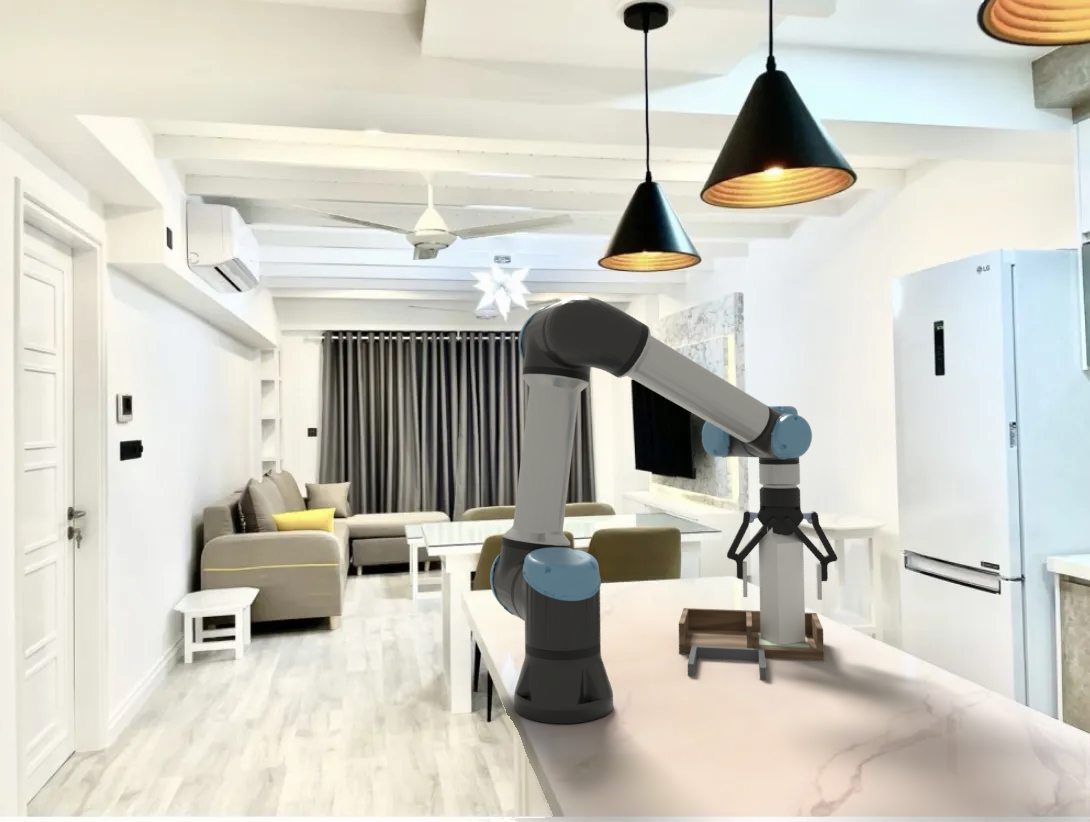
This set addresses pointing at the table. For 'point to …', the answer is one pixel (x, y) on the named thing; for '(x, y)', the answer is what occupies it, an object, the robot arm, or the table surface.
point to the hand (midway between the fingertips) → (781, 597)
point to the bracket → (727, 656)
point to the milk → (781, 588)
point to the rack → (745, 633)
